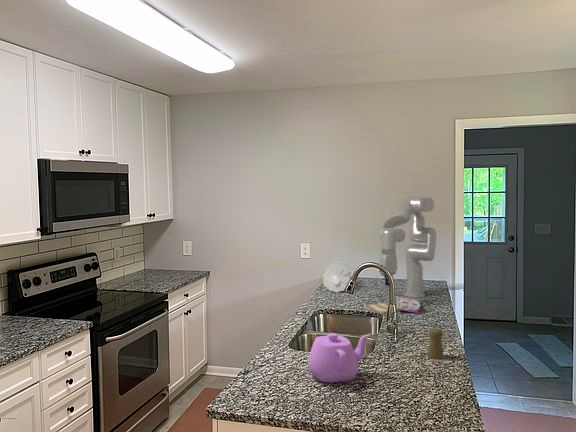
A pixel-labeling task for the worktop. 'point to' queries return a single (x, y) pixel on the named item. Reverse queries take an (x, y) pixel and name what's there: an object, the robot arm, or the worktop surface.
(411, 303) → the candy bar box
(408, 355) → the worktop surface
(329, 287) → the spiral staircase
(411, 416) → the worktop surface
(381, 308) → the maple board
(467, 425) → the worktop surface
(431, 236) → the robot arm
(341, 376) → the teapot
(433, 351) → the brown pepper mill
